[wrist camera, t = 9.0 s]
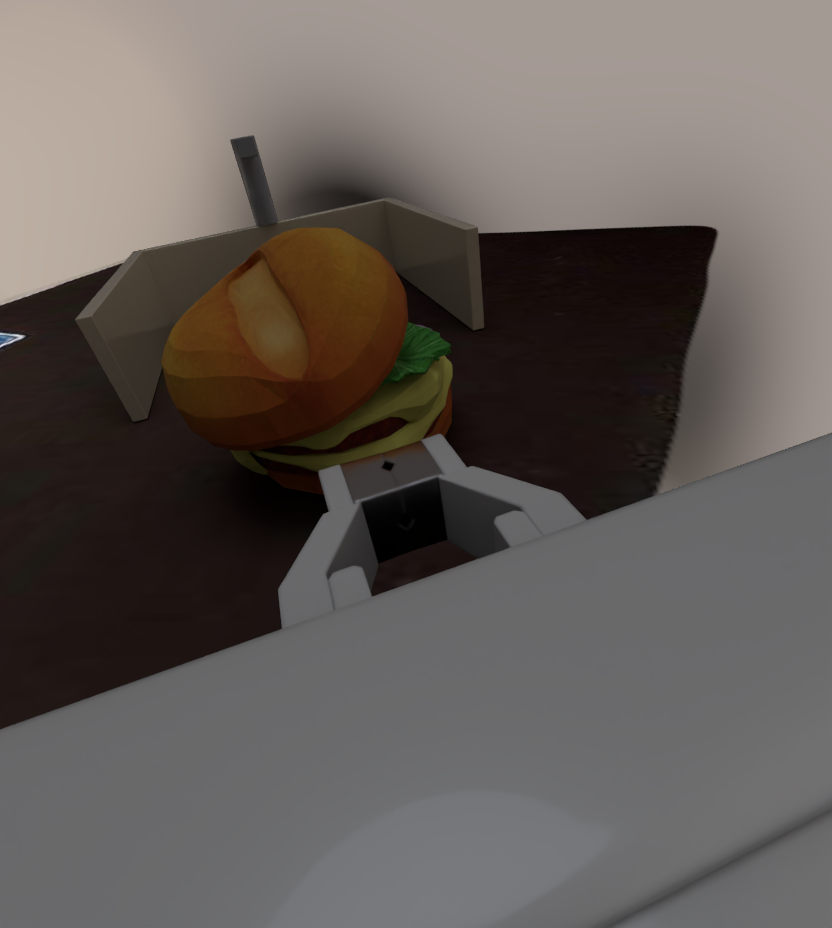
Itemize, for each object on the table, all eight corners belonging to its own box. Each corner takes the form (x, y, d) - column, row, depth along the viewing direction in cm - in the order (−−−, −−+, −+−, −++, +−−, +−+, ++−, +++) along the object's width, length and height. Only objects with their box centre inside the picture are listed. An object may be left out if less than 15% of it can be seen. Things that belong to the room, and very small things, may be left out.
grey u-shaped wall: (484, 328, 31) (469, 94, 24) (133, 422, 27) (-6, 180, 20) (399, 266, 46) (375, 113, 39) (166, 322, 43) (94, 164, 36)
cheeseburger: (511, 398, 23) (473, 173, 16) (390, 588, 18) (256, 389, 11) (352, 366, 28) (269, 187, 21) (225, 507, 24) (61, 337, 16)
